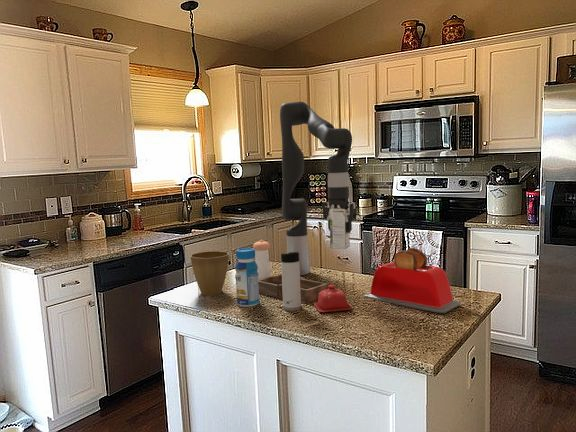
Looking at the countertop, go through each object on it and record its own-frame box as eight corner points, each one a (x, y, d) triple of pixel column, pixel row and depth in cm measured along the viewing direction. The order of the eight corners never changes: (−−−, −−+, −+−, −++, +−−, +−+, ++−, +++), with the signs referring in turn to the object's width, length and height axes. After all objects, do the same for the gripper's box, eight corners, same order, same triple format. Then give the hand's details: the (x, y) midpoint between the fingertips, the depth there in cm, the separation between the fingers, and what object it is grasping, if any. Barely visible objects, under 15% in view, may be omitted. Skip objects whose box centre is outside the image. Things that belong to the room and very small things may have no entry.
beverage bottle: (260, 306, 171) (257, 251, 168) (236, 308, 170) (233, 252, 168) (259, 299, 179) (257, 246, 177) (237, 301, 178) (234, 248, 176)
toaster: (362, 298, 177) (360, 247, 175) (381, 290, 186) (380, 242, 184) (444, 314, 154) (444, 257, 152) (462, 305, 163) (461, 250, 161)
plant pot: (211, 301, 180) (208, 259, 178) (184, 296, 189) (182, 255, 187) (238, 291, 191) (236, 252, 190) (212, 287, 200) (210, 249, 199)
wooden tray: (283, 284, 199) (282, 273, 199) (331, 295, 181) (331, 282, 181) (255, 292, 189) (255, 280, 188) (304, 304, 171) (303, 291, 170)
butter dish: (312, 305, 170) (311, 282, 169) (344, 302, 172) (343, 279, 171) (319, 315, 159) (318, 290, 158) (353, 312, 160) (352, 287, 160)
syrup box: (334, 246, 178) (333, 206, 176) (350, 246, 175) (349, 206, 173) (330, 248, 172) (328, 208, 171) (346, 249, 170) (344, 208, 168)
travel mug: (288, 312, 163) (286, 254, 161) (280, 307, 169) (277, 251, 166) (305, 309, 166) (302, 251, 163) (295, 304, 171) (293, 249, 169)
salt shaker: (262, 282, 205) (259, 237, 203) (275, 284, 201) (273, 239, 199) (251, 286, 199) (248, 240, 197) (264, 288, 195) (262, 241, 193)
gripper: (361, 185, 169) (362, 231, 171) (329, 184, 179) (331, 228, 181) (348, 186, 163) (349, 234, 165) (316, 185, 173) (317, 231, 175)
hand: (339, 231), depth 173 cm, fingers closed on syrup box, 7 cm apart
